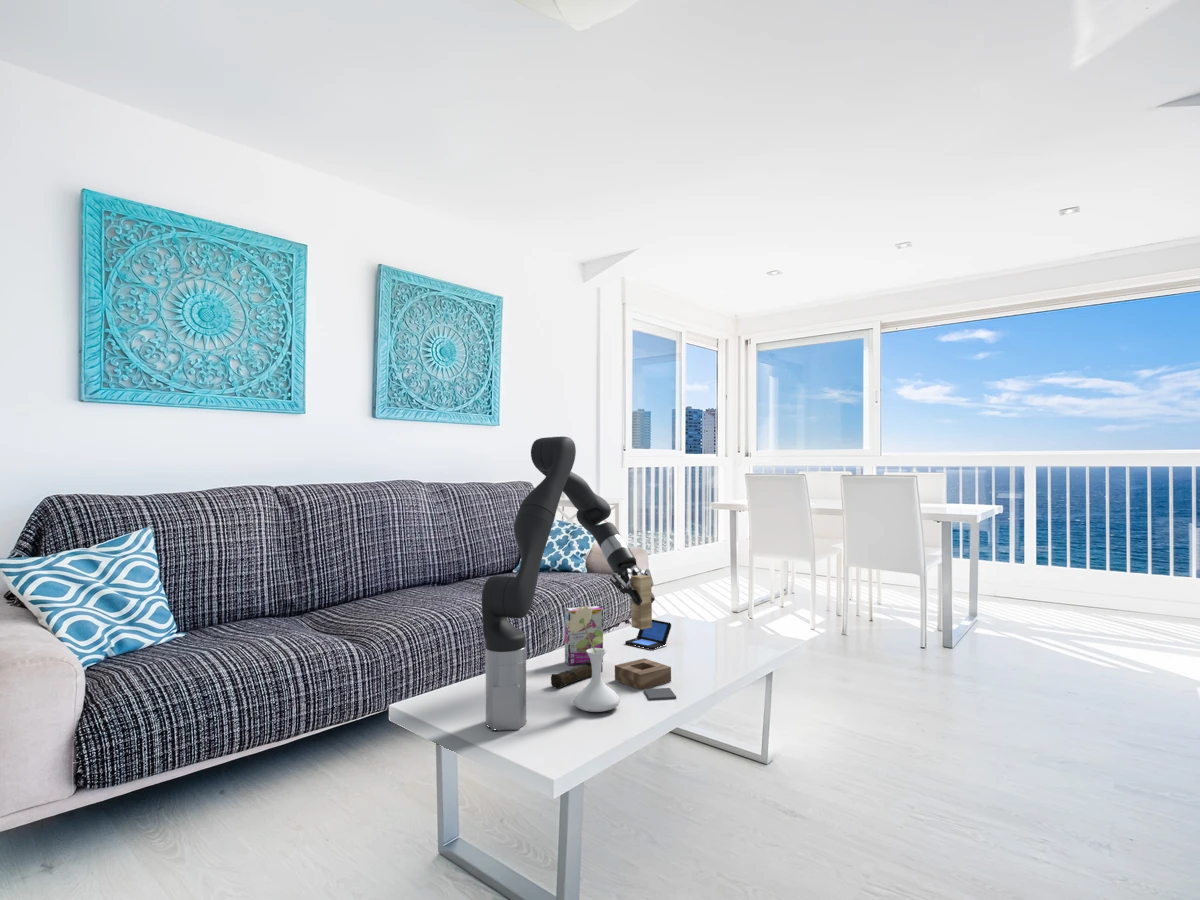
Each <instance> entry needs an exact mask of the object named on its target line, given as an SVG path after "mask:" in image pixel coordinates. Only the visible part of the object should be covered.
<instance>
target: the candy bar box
mask: <svg viewBox="0 0 1200 900" xmlns="http://www.w3.org/2000/svg"><path fill="white" fill-rule="evenodd" d="M580 607H582V609H583V607H584V606H579V607H578V606H577V607H564V662H565V663H566V665H568V666H575V665H576V666H577V665H585V664H586V661H588V660H590V657H589V655H588V654H587V652H586V650H588V649H591V648H593V647H592V646H591V644H590V642H588V643H587V645H586V646H585V647H583V648H575V646H576V644H577V643H578V642H579V641H581V640H583V639H586V640H588V636H587V633H586V630H585V627H583V628H582V629H581V630H579V631H578V632H575V633H573V631H572V632H570V631H568V629H569V627H567V625H568V622H569V621H570V620H571V616H572V615H575V613H576V611H577V610H579V608H580ZM588 607H589V608H592V615H591V620H589V622H588V623H587V625H586V629H587V632H588V635H589V639H590V641H591V643H592V640H593V639H594V638H596V637H597V636H599V635H601V634H602V633H603V634H604V619H603V618H604V609H603V607H601V606H598V605H596V606H595V605H594V606H588ZM588 641H589V640H588ZM592 645H593V644H592ZM594 648H602V649H604V641H603V642H602V643H601V644H599V645H597V646H594ZM603 662H604V658H603V659H602V663H603Z"/></svg>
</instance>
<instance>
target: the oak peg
mask: <svg viewBox="0 0 1200 900" xmlns="http://www.w3.org/2000/svg"><path fill="white" fill-rule="evenodd" d="M651 577H652V575H651V576H646V575H636V576H631V579H632V581H633V585H634V587H635V590H636V591H637V592H638V594H639V596H640V597H641V599H642V603H641V604H640V605H638V606H637V605H636V604H635V603H634V601H633V599H632V598H631V597H630V598H631V602H630V605H631V606H630V607H631V614H630V615H631V616H630V617H631V628H635V629H636V630H637V629H638V630H640V629H646V628H651V627H652V620H653V615H652V614H653V607H652V606H653V603H652V602H651V596H652V593H653V592H652V587H651Z"/></svg>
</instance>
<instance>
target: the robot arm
mask: <svg viewBox="0 0 1200 900" xmlns="http://www.w3.org/2000/svg"><path fill="white" fill-rule="evenodd" d="M576 450H577V449H576V444H575V441H574V440H573V439H572V438H571V437H569V436H549V437H539V438H537V439H536V440H534V441H533V443H532V445H531V448H530V458H531V461H532V463H533V465H534V467H535V468H536V470H538V471H539V472H540V473H541V474H542V475H544V477H545V478H543V480H542V481H540V482H539V483H538V485H537V486H535V488H533V489H532V490H531V491H530V492H529V493H528V494H527V495H526V497H524V499H523V500H522V502H521V503H520V505H519V508H518V511H517V514H516V517H515V521H514V523H513V534H514V537H515V542H516V544H517V547H518V549H519V553H520V565H519V569H518V572H517V574H516V575H515V576H506V575H505V576H503V575H494V576H490V577H489V578H487V580H485V583H484V584H483V588H482V592H481V614H482V615H481V616H482V618H481V619H482V633H483V634H482V635H483V639H484V642H485V725H486V724H487V725H488V726H489V727H491V728H492V729H491V728H490V729H491V731H492V730H494V729H496V730H498V731H512V730H520V729H521V727H523V726H525V725H526V723H527V637H526V634H525V633H524V632H523V631H522V630H520V629H518V628H516V627H515V626H514V625H512V623H511V622H510V621H509V620H508V619H523V618H525V617H526V616H527V615H528V613H529V612H530V610H531V607H532V606H533V602H534V597H535V594H536V589H537V584H538V579H539V572H540V570H541V565H542V561H543V556H544V554H545V549H546V546H547V544H548V540H549V537H550V533H551V531H552V529H553V525H554V522H555V519H556V518H555V517H556V513H557V510H558V506H559V504H560V500H561V496H562V494H563V493H564V494H565V496H566V497H567V498H568V500H569V501H570V503H571V504H572V505H573V506H574V507H575V509H577V511H576V514H575V515H576V520H577V522H578V523H579V524H580V525H581V526H582V527H583V528H584V529H585V530H587V531H588V532H589V533H590V535H592V537H593V538H594V540H595V541H596V542H597V545H598V546H599V548H600V550H601V553H602V555H603V557H604V559H605V560H606V562H607V564H608V566H609V567H610V569H611V571H612V572H613V574H611V577H610V578H609V581H610V582H611V583H612V584H613V585H614V586H615V587H616V588H617V590H618V591H619V592H620V593H621V594H622V595H625V594H627V595H628V596H630V598H632V599H633V601H634V603H635V604H636V605H637V606H638V605H640V604H641V603H642V599H641V597H640V596H639V594H638V592H637V591H636V590H635V587H634V585H633V581H632V579H631V576H636V575H646V576H651V588H653V586H654V581H653V578H652V574H651V570H650V569H648V568H646V569H645V570H643V569H641V567H639V566H638V564H637V558H636V557H635V556H634V554H633V552H632V551H631V548H630V546H629V545H628V544H627V542H626V541H625V539H624V538H623V537H622V536H621V534H620V532H619V531H618V529H617V528H616V526H615V525H614V524H613V523H612V522H611V521H608V522H604V523H602V522H603V521H605V520H606V519H608V518H609V517H610V516H611V513H612V510H611V506H610V503H609V502H608V501H607V500H606V499H604V498H603V497H601V496H600V495H598V494H596V493H595V492H594V491H593V490H592V488H591V486H590V484H588V483H587V481H586V480H585V479H584V478H582V477H581V476H580V475H578V474H576V473H574V472H573V471H572V469H573V467H574V464H575V461H576V460H575V459H576V455H577V454H576V453H577V451H576ZM655 597H656V596H655V594H654V593H653V592H652V596H651V602H652V604H653V603H654V601H655ZM489 727H488V728H489Z"/></svg>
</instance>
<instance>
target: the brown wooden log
mask: <svg viewBox="0 0 1200 900" xmlns="http://www.w3.org/2000/svg"><path fill="white" fill-rule="evenodd" d="M603 668H604V667H603V663H602V664H601V673H603V670H604V669H603ZM585 678H592V665H591V660H588V661H586V664H581V665H579V666H577V667H574V668H572V669H567V670H565V671H561V672H559V673H552V674H551V676H550V685H551V686H552V687H551V688H554V689H558V690H559V689H561V688H564V687H565V686H567V685H569V684H571V683H574V682H577V681H579V680H580V681H581V680H583V679H585Z"/></svg>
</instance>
